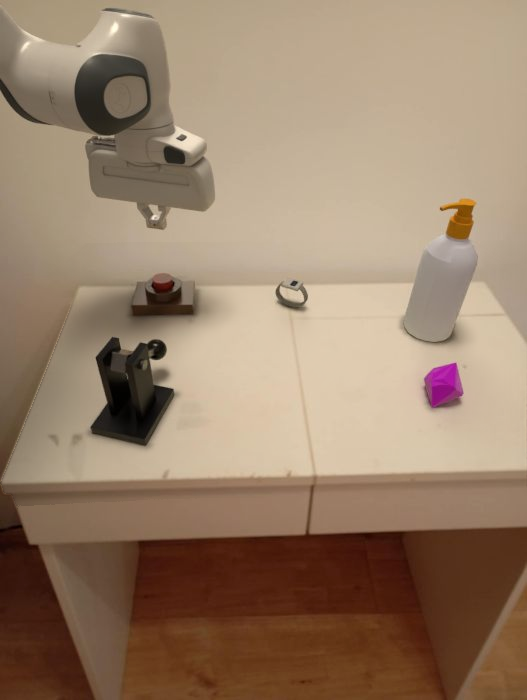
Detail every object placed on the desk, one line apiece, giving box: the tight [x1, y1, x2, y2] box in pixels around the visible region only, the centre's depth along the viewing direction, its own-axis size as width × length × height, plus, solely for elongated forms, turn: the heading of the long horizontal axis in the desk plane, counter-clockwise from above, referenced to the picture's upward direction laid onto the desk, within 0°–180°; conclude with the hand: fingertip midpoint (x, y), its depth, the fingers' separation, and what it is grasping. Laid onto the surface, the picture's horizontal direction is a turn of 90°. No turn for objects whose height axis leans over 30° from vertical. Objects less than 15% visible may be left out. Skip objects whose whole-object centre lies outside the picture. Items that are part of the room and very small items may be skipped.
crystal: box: [423, 362, 465, 409], centre depth 71 cm, size 5×5×5 cm
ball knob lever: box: [110, 338, 168, 373], centre depth 66 cm, size 13×3×3 cm
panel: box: [130, 275, 197, 316], centre depth 88 cm, size 11×8×4 cm
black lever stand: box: [90, 336, 175, 446], centre depth 64 cm, size 10×8×12 cm
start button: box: [151, 272, 173, 291], centre depth 86 cm, size 4×4×2 cm
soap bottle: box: [403, 198, 479, 343], centre depth 78 cm, size 9×9×24 cm
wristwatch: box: [275, 277, 309, 309], centre depth 88 cm, size 6×3×5 cm, turn 64°
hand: (157, 227), depth 79 cm, fingers closed
